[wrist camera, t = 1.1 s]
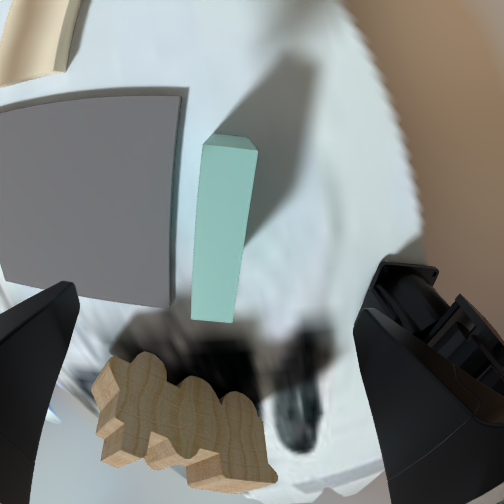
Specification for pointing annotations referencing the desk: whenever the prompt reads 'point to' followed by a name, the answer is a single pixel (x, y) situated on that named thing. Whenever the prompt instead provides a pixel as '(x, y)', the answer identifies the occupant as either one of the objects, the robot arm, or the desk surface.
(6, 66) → the birch slab
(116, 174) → the mat
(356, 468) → the desk surface
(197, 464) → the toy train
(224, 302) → the teal slab
